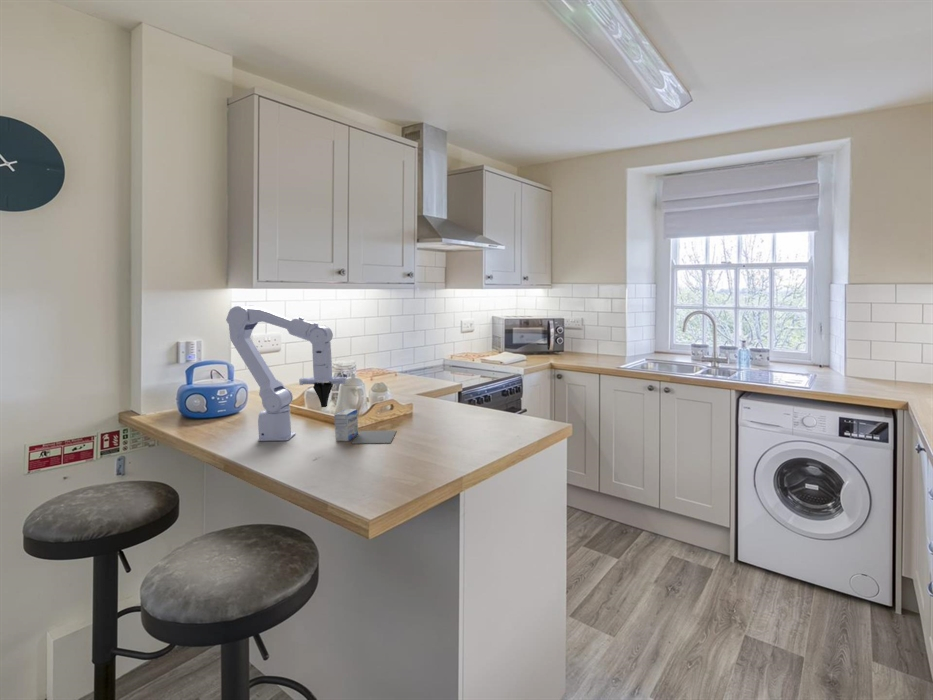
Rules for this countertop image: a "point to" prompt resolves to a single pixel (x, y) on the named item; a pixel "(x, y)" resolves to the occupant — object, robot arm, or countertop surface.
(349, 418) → the medicine box
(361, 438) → the mat
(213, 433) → the countertop surface
